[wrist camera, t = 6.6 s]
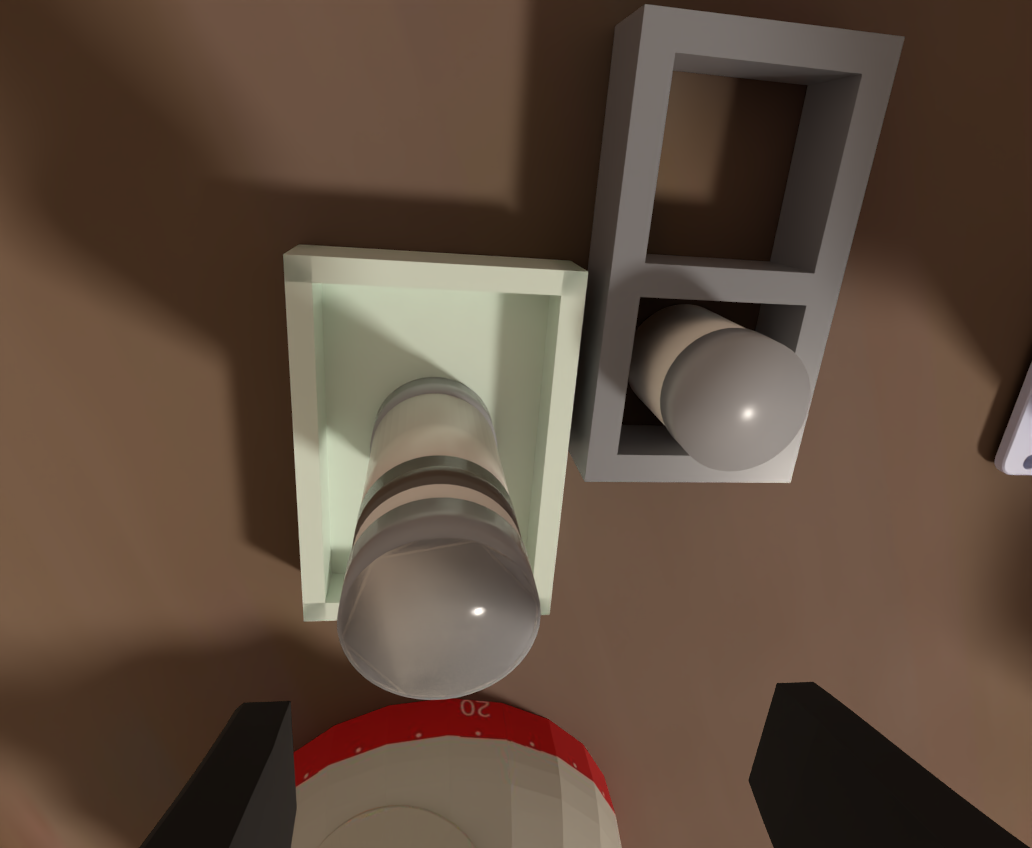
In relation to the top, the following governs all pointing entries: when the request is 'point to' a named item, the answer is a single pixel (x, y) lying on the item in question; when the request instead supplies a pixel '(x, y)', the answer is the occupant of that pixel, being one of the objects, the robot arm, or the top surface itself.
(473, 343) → the parts tray
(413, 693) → the cylinder
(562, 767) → the kitchen timer
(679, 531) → the top surface
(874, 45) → the grey compartment rack
